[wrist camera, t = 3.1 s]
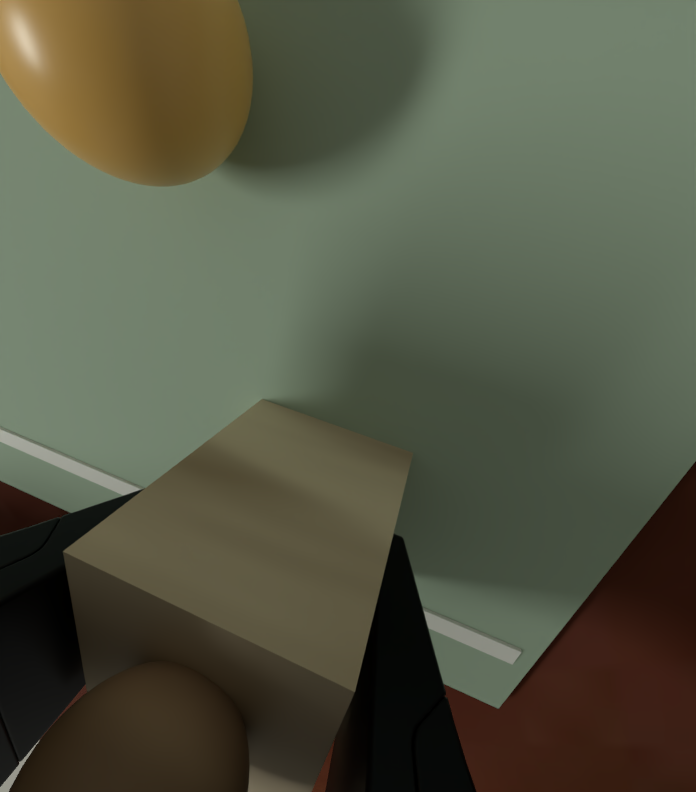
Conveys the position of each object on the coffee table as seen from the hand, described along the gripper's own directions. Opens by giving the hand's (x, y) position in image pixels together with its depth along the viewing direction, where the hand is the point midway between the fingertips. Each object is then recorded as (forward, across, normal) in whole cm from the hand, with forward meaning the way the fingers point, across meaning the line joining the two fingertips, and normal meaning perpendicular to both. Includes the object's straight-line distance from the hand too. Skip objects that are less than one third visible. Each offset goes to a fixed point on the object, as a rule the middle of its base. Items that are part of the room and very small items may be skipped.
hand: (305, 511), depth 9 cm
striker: (+1, 0, 0) cm, 1 cm away
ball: (-1, +4, -8) cm, 9 cm away
